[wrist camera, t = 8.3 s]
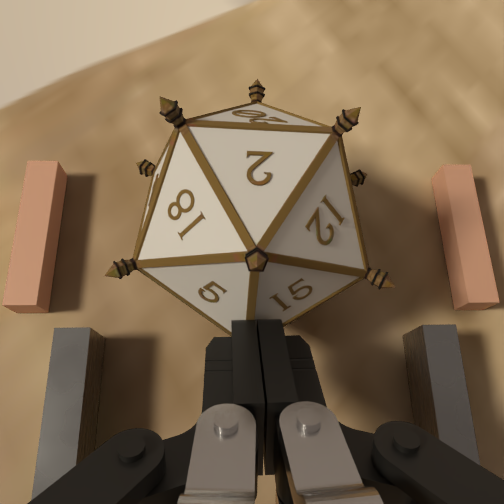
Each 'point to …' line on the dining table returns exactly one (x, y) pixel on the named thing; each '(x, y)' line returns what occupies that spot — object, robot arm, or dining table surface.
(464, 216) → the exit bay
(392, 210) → the dining table surface
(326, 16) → the dining table surface
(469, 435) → the chute
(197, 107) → the dining table surface
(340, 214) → the game die
